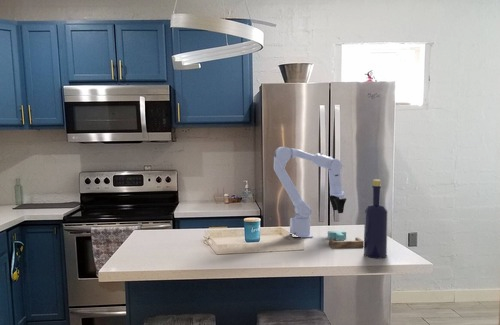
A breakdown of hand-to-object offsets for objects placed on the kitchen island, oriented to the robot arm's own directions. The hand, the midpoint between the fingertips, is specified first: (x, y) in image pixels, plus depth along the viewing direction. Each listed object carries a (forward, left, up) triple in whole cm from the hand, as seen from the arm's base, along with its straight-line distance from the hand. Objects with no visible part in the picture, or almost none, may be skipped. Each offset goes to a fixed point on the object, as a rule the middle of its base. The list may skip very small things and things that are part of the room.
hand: (338, 211), depth 178 cm
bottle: (+5, -32, -12) cm, 34 cm away
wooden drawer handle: (-2, -18, -11) cm, 21 cm away
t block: (-2, -8, -11) cm, 14 cm away
